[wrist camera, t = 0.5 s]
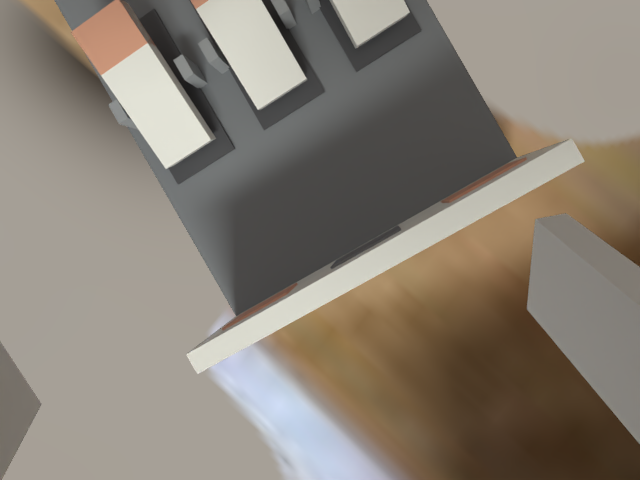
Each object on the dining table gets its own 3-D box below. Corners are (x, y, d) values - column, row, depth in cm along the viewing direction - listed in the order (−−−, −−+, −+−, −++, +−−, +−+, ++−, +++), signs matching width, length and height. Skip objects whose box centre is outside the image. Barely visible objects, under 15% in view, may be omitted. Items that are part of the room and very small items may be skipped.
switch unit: (510, 177, 27) (584, 161, 17) (258, 318, 30) (197, 374, 20) (309, -172, 27) (268, -387, 17) (75, 1, 30) (-75, -99, 20)
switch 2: (307, 79, 25) (306, 78, 23) (260, 109, 25) (257, 109, 24) (223, -66, 23) (217, -76, 22) (174, -31, 23) (166, -38, 22)
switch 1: (216, 138, 26) (210, 139, 24) (172, 166, 26) (165, 168, 25) (128, 3, 24) (117, -3, 22) (83, 35, 24) (70, 32, 23)
